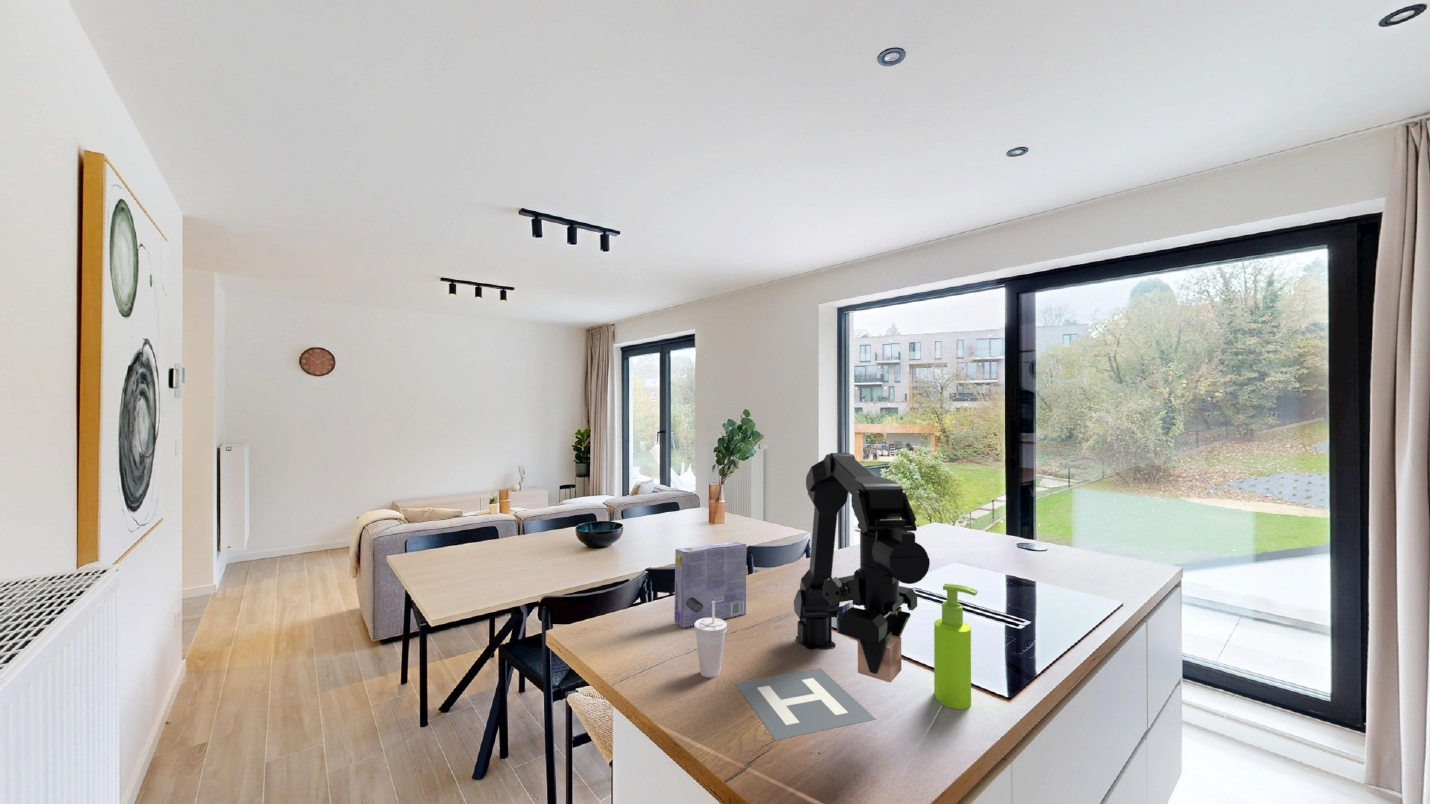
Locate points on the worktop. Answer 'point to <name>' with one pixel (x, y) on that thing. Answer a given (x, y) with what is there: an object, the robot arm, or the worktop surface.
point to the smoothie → (710, 643)
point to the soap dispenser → (953, 652)
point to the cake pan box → (710, 582)
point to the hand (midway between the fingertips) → (879, 666)
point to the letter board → (801, 703)
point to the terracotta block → (883, 661)
